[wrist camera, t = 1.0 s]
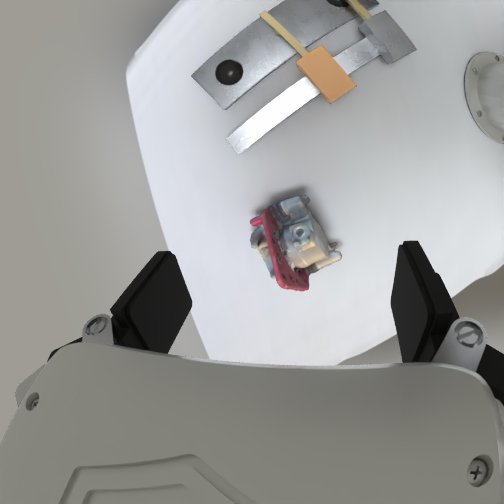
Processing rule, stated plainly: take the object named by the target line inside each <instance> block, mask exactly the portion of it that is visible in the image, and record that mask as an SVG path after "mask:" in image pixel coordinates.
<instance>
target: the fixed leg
mask: <svg viewBox="0 0 504 504" xmlns="http://www.w3.org/2000/svg"><path fill="white" fill-rule="evenodd" d="M345 1H346V2H347V3H348V4H349V5H350V6H351V7H352V8H353V9H354V10H355V11H356V12H357V13H358V14H359V15H360V16H361V17H362V18H363V19H364V20H365V21H363V23H362V24H361V25H360V26H359V30H360V31H361V32H362V33H363V34H364V35H365V36H366V38H367V39H368V40H369V41H370V42H371V43H372V45H373V46H374V47H375V48H376V49H377V51H378V52H379V53H380V54H381V56H382V57H383V58H384V60H385V61H386V62H387V64H390V63H393V62H395V61H398V60H399V59H401V58H403V57H404V56H406V55H408V54H410V53H412V52H413V51H415V50H417V49H416V48H415V46H414V45H413V43H412V42H411V41H410V40H409V38H408V37H407V36H406V34H405V33H404V32H403V31H402V29H401V28H400V27H399V26H398V24H397V23H396V22H395V21H394V20H393V19H392V17H391V16H390V15H389V14H388V13H387V12H386V11H385V10H384V11H382V12H380V13H378V14H376V15H374V16H372V15H371V14H370V13H369V12H368V11H367V10H366V9H365V8H364V7H363V6H362V5H361V4H360V3H359V2H358V1H357V0H345Z"/></svg>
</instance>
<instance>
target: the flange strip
mask: <svg viewBox="0 0 504 504" xmlns="http://www.w3.org/2000/svg"><path fill="white" fill-rule="evenodd" d="M357 1H358V2H359V3H360V4H361V5H362V6H363V7H364V8H365V9H366V10H367V11H369V10H370V9H372V8H374V7H376V6H378V5H379V3H378V2H377V1H376V0H357ZM267 13H269V14H270V15H271V16H272V17H273V18H274V19H275V20H276V21H278V22H279V23H280V24H281V25H282V26H283V27H284V28H285V29H286V30H287V31H288V32H289V33H290V34H291V35H292V36H293V37H294V38H295V39H296V40H297V41H298V42H299V43H300V44H301V45H302V46H303V47H304V48H306V47H308V46H309V45H311V44H312V43H314V42H315V41H317V40H319V39H320V38H322V37H323V36H325V35H326V34H328V33H330V32H331V31H333V30H335V29H336V28H338V27H340V26H341V25H343V24H345V23H347V22H348V21H350V20H352V19H354V18H355V17H357V16H359V14H358V13H357V12H356V11H355V10H354V9H353V8H352V7H351V6H350V5H349V4H348V3H347V2H346V1H345V0H285V1H283V2H282V3H280V4H279V5H277V6H276V7H274V8H273V9H271V10H270V11H268V12H267ZM296 54H298V52H297V51H296V50H295V49H294V48H293V47H292V46H291V45H290V44H289V43H288V42H287V41H286V40H285V39H284V38H283V37H282V36H281V35H277V34H276V32H275V30H274V29H273V28H272V27H271V26H270V25H269V24H268V23H267V22H266V21H265V20H264V19H262V18H261V17H260V18H259V19H257V20H256V21H254V22H253V23H252V24H250V25H249V26H248V27H246V28H245V29H244V30H243V31H241V32H240V33H239V34H238V35H236V36H235V37H234V38H233V39H231V40H230V41H229V42H228V43H227V44H225V45H224V46H223V47H222V48H221V49H220V50H218V51H217V52H216V53H215V54H214V55H213V56H212V57H210V58H209V59H208V60H207V61H206V62H205V63H204V64H203V65H202V66H201V67H200V68H199V69H198V70H197V71H195V72H194V73H193V74H192V75H191V77H192V78H193V79H194V80H195V81H196V82H197V83H198V84H199V85H200V86H201V87H202V88H203V89H204V90H205V91H206V92H207V93H208V94H209V95H210V96H211V97H212V98H213V99H214V100H215V101H216V102H217V103H218V104H219V105H220V106H221V107H222V109H223V110H227V109H228V108H229V107H230V106H231V105H232V104H233V103H235V102H236V101H237V100H238V99H239V98H240V97H242V96H243V95H244V94H245V93H246V92H248V91H249V90H250V89H251V88H252V87H254V86H255V85H256V84H257V83H259V82H260V81H261V80H263V79H264V78H265V77H266V76H268V75H269V74H270V73H272V72H273V71H274V70H276V69H277V68H278V67H280V66H281V65H282V64H284V63H285V62H286V61H288V60H289V59H291V58H292V57H293V56H295V55H296Z"/></svg>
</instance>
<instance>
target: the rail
mask: <svg viewBox="0 0 504 504" xmlns="http://www.w3.org/2000/svg"><path fill="white" fill-rule="evenodd" d="M379 55H381V54H380V53H379V52H378V51H377V49H376V48H375V47H374V46H373V45H372V43H371V42H370V41H369V40H368V39H367V38H364V39H362V40H361V41H359V42H357V43H355V44H354V45H352V46H350V47H349V48H347V49H346V50H344V51H342V52H341V53H339V54H338V55H336V56H334V57H333V58H334V59H335V60H336V61H337V62H338V64H339V65H340V66H341V67H342V68H343V70H344V71H345V72H346V73H347V74H350V73H351V72H353V71H354V70H356V69H358V68H359V67H361V66H362V65H364V64H366V63H367V62H369V61H371V60H372V59H374V58H376V57H377V56H379ZM318 94H320V92H319V91H318V90H317V89H316V87H315V86H314V85H313V84H312V83H311V82H310V80H309V79H308V78H307V77H306V76H305V77H303V78H302V79H301V80H299V81H298V82H296V83H295V84H294V85H292V86H291V87H289V88H288V89H287V90H285V91H284V92H283V93H281V94H280V95H279V96H277V97H276V98H275V99H274V100H272V101H271V102H270V103H268V104H267V105H266V106H265V107H263V108H262V109H261V110H260V111H258V112H257V113H256V114H255V115H253V116H252V117H251V118H250V119H248V120H247V121H246V122H245V123H244V124H242V125H241V126H240V127H239V128H238V129H237V130H235V131H234V132H233V133H232V134H231V135H230V136H228V137H227V138H226V139H225V140H226V141H227V143H228V144H229V145H230V146H231V147H232V148H233V149H234V150H235V151H236V153H237V154H238V155H239V154H241V153H242V152H243V151H244V150H246V149H247V148H248V147H249V146H250V145H252V144H253V143H254V142H255V141H257V140H258V139H259V138H260V137H262V136H263V135H264V134H266V133H267V132H268V131H269V130H271V129H272V128H273V127H275V126H276V125H277V124H278V123H280V122H281V121H282V120H284V119H285V118H286V117H288V116H289V115H290V114H292V113H293V112H294V111H296V110H297V109H299V108H300V107H301V106H303V105H304V104H305V103H307V102H308V101H310V100H311V99H313V98H314V97H315V96H317V95H318Z"/></svg>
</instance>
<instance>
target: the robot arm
mask: <svg viewBox="0 0 504 504" xmlns="http://www.w3.org/2000/svg"><path fill="white" fill-rule="evenodd" d="M465 92H466V98H467V102H468V105H469V109H470V111H471V113H472V116H473V118H474V119H475V121H476V123H477V125H478V126H479V127H480V129H481V130H482V131H483V132H484V133H485V134H486V135H487V136H488V137H490V138H491V139H493V140H495V141H497V142H499V143H503V144H504V57H503V56H501V55H499V54H497V53H493V52H483V53H479V54H477V55H475V56H474V57H473V58H472V59H471V60H470V62H469V64H468V66H467V70H466V73H465ZM191 308H192V299H191V297H190V294H189V291H188V289H187V286H186V284H185V281H184V278H183V276H182V273H181V270H180V267H179V265H178V262H177V259H176V256H175V255H174V254H172V253H171V251H158V252H157V253H156V254H155V255H154V256H153V257H152V258H151V260H150V261H149V262H148V263H147V264H146V266H145V267H144V268H143V269H142V270H141V272H140V273H139V274H138V275H137V276H136V278H135V279H134V280H133V281H132V283H131V284H130V285H129V286H128V287H127V289H126V290H125V291H124V292H123V294H122V295H121V296H120V297H119V299H118V300H117V301H116V303H115V304H114V305H113V306H112V308H111V309H110V311H111V313H112V314H113V316H112V318H110V316H108V315H106V314H100V315H97V316H95V317H93V318H91V319H90V320H89V321H88V322H87V323H86V324H85V326H84V328H83V332H82V333H83V335H82V337H81V338H79V339H77V340H75V341H73V342H70V343H69V344H66V345H64V346H62V347H60V348H58V349H56V350H54V351H53V352H52V353H51V354H50V357H49V359H48V361H47V364H46V365H43V366H42V367H41V368H39V369H38V370H37V371H36V372H34V373H33V374H32V375H30V376H29V377H28V378H27V379H25V380H24V381H23V382H22V383H21V384H20V385H19V386H18V388H17V390H16V400H17V404H18V409H17V411H16V413H15V415H14V417H13V419H12V420H11V422H10V425H9V426H8V429H7V430H6V433H5V435H4V437H3V439H2V441H1V444H0V504H504V354H503V353H501V352H499V351H497V350H496V349H494V348H493V347H491V346H489V345H487V344H486V343H487V333H486V330H485V328H484V327H483V326H482V325H481V324H480V323H479V322H478V321H476V320H474V319H471V318H459V315H458V313H457V311H456V308H455V306H454V304H453V302H452V300H451V297H450V295H449V293H448V291H447V289H446V287H445V285H444V283H443V281H442V279H441V277H440V275H439V274H438V273H435V271H434V269H433V268H432V266H431V264H430V262H429V260H428V258H427V256H426V254H425V253H424V251H423V249H422V247H421V245H420V244H419V242H418V241H404V242H403V245H399V248H398V256H397V263H396V270H395V277H394V283H393V289H392V295H391V309H392V313H393V317H394V321H395V326H396V330H397V335H398V340H399V345H400V350H401V355H402V362H403V363H394V364H375V365H345V366H297V365H271V364H254V363H240V362H229V361H218V360H209V359H201V358H193V357H184V356H178V355H170V354H168V352H169V350H170V348H171V346H172V344H173V342H174V340H175V338H176V336H177V334H178V333H179V331H180V329H181V327H182V325H183V323H184V321H185V319H186V317H187V315H188V313H189V312H190V310H191Z"/></svg>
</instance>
